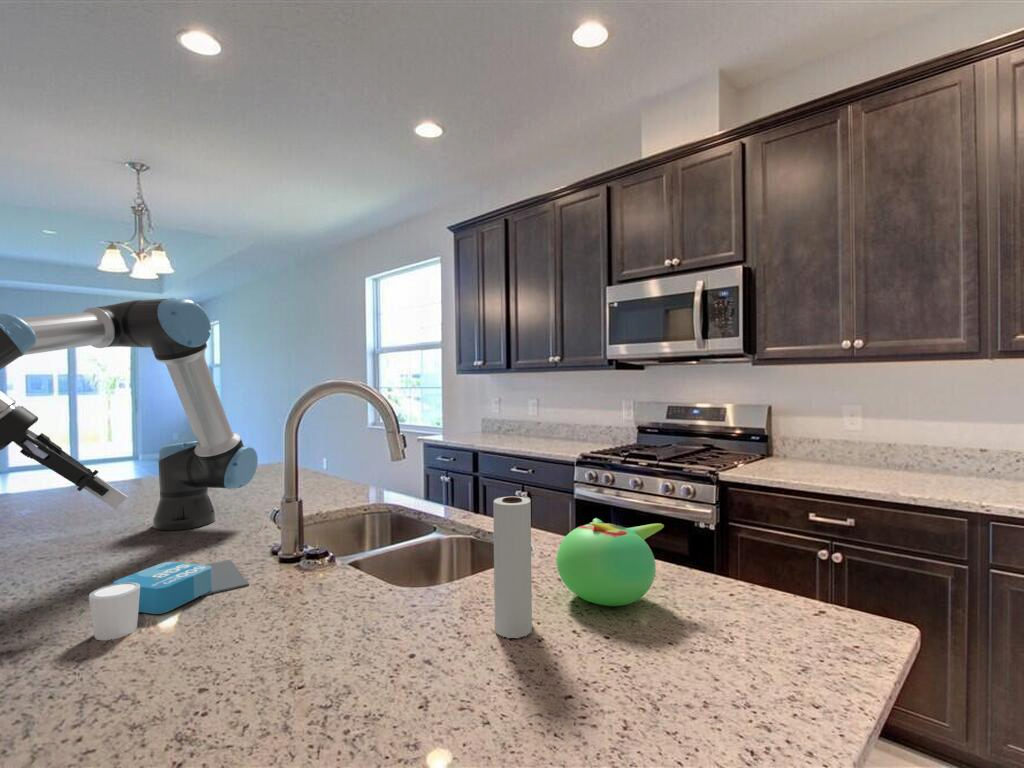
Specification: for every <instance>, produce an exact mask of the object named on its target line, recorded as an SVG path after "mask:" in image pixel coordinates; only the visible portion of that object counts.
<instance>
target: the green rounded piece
mask: <svg viewBox="0 0 1024 768" xmlns="http://www.w3.org/2000/svg"><path fill="white" fill-rule="evenodd" d="M664 527H665V525H664V523H663V524H662V523H650V524H645V525H639V526H632V527H624V526H622V525H618V524H617V525H616V524H615V523H614V524H613V523H609V522H608V523H606V522H603V520H601V519H599V518H597V517H595V518H593V519H592V521H591V522H589V523H587V524H583V525H580V526H578V527H575V528H574V529H573V530H571V531H569V533H567V534H566V535H565V536H564V538H563V539H562V540H561V542H560V544H559V546H558V549H557V554H556V565H557V571H558V575H559V577H560V579H561V580H562V582H563V584H564V585H565V586H566V587H567V589H569V590H570V592H572V593H573V594H575V596H577V597H579V598H581V599H582V600H584V601H587V602H590V603H591V604H595V605H599V606H606V607H619V606H625V605H629V604H632V603H634V602H637V601H638V600H640V599H641V598H643V596H645V595H646V593H647V592H649V590H650V588H651V587H652V585H653V583H654V580H655V577H656V566H657V565H656V560H655V555H654V553H653V551H652V549H651V548H650V546H649V544H648V542H646V541H645V540H646V539H647V538H649V537H651V536H652V535H655V534H656V533H657V532H660V531H661V530H662V529H663V528H664Z"/></svg>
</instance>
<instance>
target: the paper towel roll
mask: <svg viewBox="0 0 1024 768" xmlns="http://www.w3.org/2000/svg"><path fill="white" fill-rule="evenodd" d="M531 503H532V502H531V498H530V497H528V496H527V494H526V493H525V494H524V496H502V497H497V498H495V499H494V500H493V503H492V504H493V506H492V507H493V514H492V515H493V573H494V575H493V576H494V577H493V579H494V580H493V583H494V584H493V585H494V589H493V590H494V591H493V592H494V631H495V634H496V635H498V634H499V635H501V636H503V637H502V638H504V637H507V638H506V639H509V638H516V637H517V639H519V638H518V637H523V636H525V637H527V636H526V635H528V634H529V633H530V634H531V633H532V631H533V630H532V629H533V617H532V616H533V609H532V608H533V601H532V598H533V596H532V518H531V517H532V513H531V511H532V509H531V507H532V506H531ZM530 634H529V635H530ZM499 635H498V636H499ZM529 635H528V636H529ZM501 636H500V637H501ZM523 638H524V637H523Z"/></svg>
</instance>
